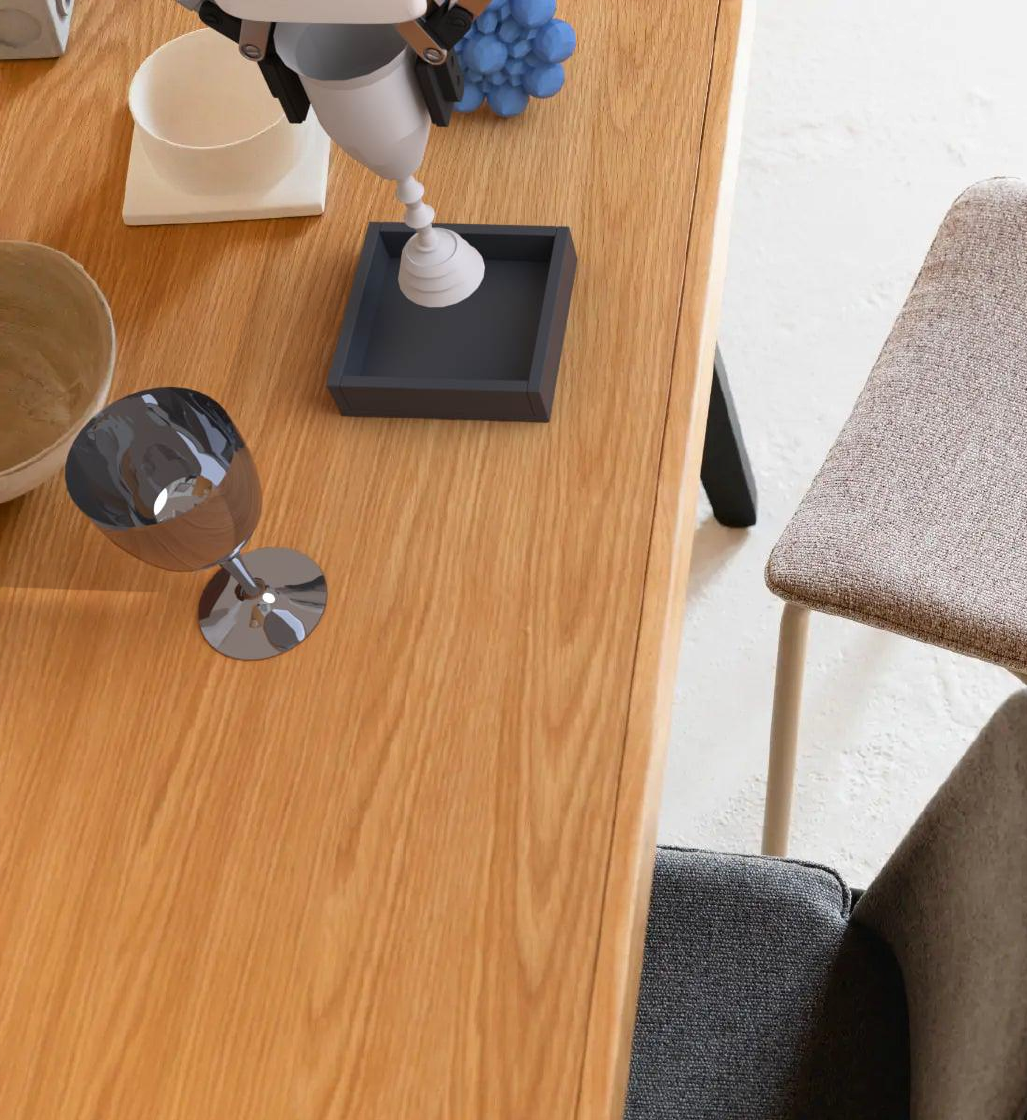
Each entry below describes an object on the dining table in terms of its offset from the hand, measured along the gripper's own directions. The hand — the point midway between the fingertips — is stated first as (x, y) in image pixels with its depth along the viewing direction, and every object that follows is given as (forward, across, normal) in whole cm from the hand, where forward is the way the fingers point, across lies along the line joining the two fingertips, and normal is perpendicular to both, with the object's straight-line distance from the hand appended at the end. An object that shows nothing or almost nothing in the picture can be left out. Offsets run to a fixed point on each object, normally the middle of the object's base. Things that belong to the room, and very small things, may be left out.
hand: (374, 103), depth 76 cm
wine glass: (+19, +8, +19) cm, 28 cm away
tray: (+19, 0, 0) cm, 19 cm away
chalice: (+13, 0, 0) cm, 13 cm away
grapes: (+19, 0, -20) cm, 28 cm away
